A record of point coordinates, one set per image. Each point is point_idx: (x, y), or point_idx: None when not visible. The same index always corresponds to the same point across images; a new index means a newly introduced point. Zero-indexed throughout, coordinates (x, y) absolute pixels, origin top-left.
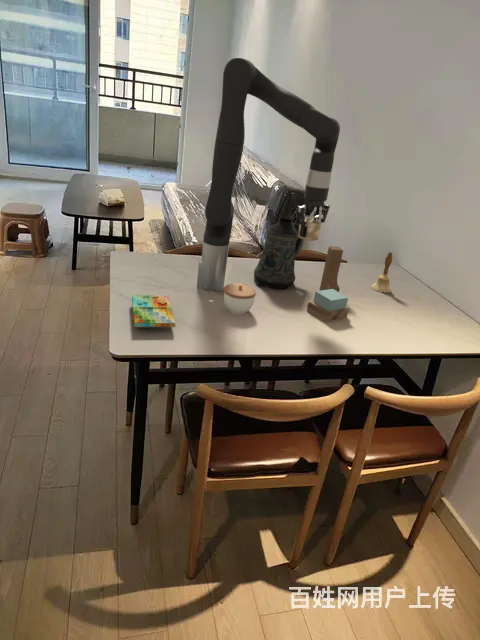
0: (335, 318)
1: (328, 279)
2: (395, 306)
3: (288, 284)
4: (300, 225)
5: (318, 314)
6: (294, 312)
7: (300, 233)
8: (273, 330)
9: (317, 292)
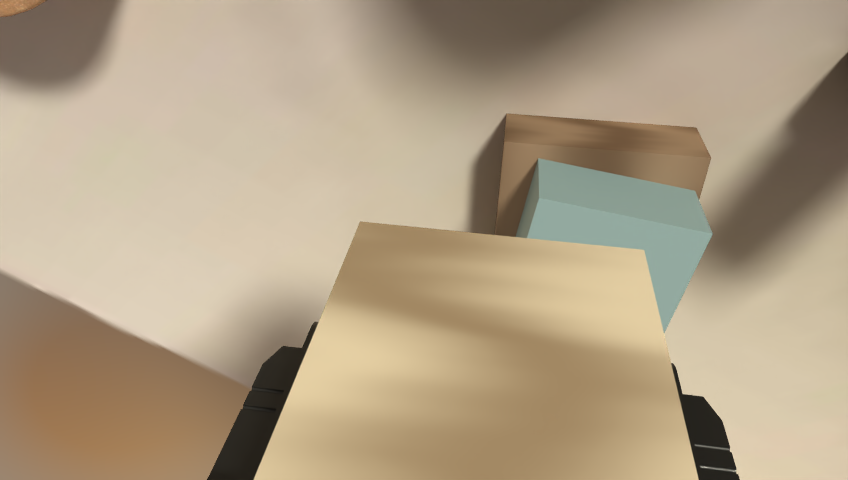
0: None
1: None
2: None
3: None
4: (294, 409)
5: (497, 207)
6: (411, 88)
7: (266, 378)
8: (145, 170)
9: (532, 215)
